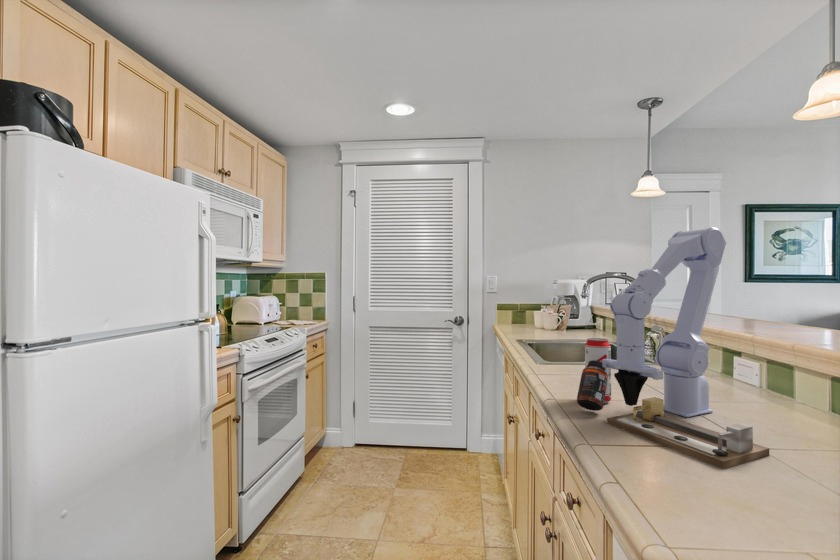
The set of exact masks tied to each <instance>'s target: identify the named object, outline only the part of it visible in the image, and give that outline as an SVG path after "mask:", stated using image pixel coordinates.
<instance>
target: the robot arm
mask: <svg viewBox="0 0 840 560" xmlns="http://www.w3.org/2000/svg"><path fill="white" fill-rule="evenodd" d="M667 244H668V245H667V248H666V249H665V250H664V251H663V253H662V254H661V256H660V257H659V258H658V260H657V261H656V262H655V264H653V266H652V268H650V269H649V268H647V269H644V270H640V271H638V273H637V275H638V276H636V278H635V279H634V280H633V281H632V282H631V284H630V285H628V286H627V287H626V289H625V290H624V292H619V293H617V294H616V295H615V296H614V297H613V299H612V300H611V303H610V304H609V308H610V312H611V313H612V315H613V317H614V319H613V320H614V322H615V324H616V327H615V328H616V359H612V358H611V359H602V367H604V368H611V370H612V369H613V370H617V372H614V375H613V376H614V378H615V380H616V382H617V383H618V385H619V387H620V390H621V392H622V396H623V399H624V403H625V405H626V406H630V407H632V406H633V407H634V406H638V402H639V401H638V400H639V397H640V394H641V392H642V390H643V387H644V385H645V383H646V382H647V380H648V378H651V379H652V380H656V381H658V380H659V381H660V380H663V400H664V412H668V413H670V414H674V415H675V414H676V415H678V416H681V417H685V418H690V417H696V416H700V415H705V414H709V413H713V412H714V410H713V409H711V408H710V396H709V395H710V390H709V389H710V388H709V387H710V386H709V385H710V384H709V382H708V380H707V378H706V377H705V376H704V375H703V374H705V372H706V371H707V369H708V367H709V350H710V347H709V345H708V344H707V343H706V342H705V341H704V340H703V339H702V338H701V336H702V332H703V327H704V325H705V321H706V317H707V314H708V312H709V311H708V310H709V307H710V303H711V299H712V297H713V292H714V288H715V285H716V282H717V279H718V275H719V269H720V265H721V262H722V260H723V255H724V251H725V249H726V245H727V242H726V239H725V237H724V235H723V233H722V231H721V230H720V229H719V228H718V227H715V226H714V227H713V226H712V227H708V228H701V229H700V228H699V229H693V230H687V231H686V230H685V231H683V230H682V231H681V230H680V231H679V230H678V231H676V232H675V233H674V234H673V235H672V237H670V238H669V239H668V241H667ZM681 263H682V264H683V266H684V267H686V268H688V269H689V271H690V274H689V278H688V280H687V285H686V289H685V292H684V295H683V299H682V302H681V306H680V309H679V313H678V316H677V320H676V323H675V327H674V330H673V331H671V332H669V333H668V334H666V335H665V336H663V338H662V342H661V343H660V345H659V346H658V347H657V349H656V351H655V361H656V364H657V365H658V366H659V367H660V368H656V367H653V366H650V365H647V364H646V355H645V354H646V352H645V351H646V350H645V349H646V347H645V346H646V345H645V344H646V343H645V341H646V340H645V336H646V335H645V318H646V317H647V316H648V315H650V313H651V311H652V304H653V303H654V300H655V298H657V296H658V294H659V293H661V291H662V290H663V289H664V288H665V287H666V284H667V282H666V281H667V280H666V278H667V276H669V274H670V273H672V271H674V270H675V269H676V268H677V267H678V266H679V265H680V264H681Z"/></svg>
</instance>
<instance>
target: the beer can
mask: <svg viewBox="0 0 840 560" xmlns="http://www.w3.org/2000/svg"><path fill="white" fill-rule="evenodd" d="M586 339H587V340H586V342H585V344H584V368H586V367H587V365H588V362H589V361H592V360H596V361H600V362H602V359H612V351H611V350H612V348H611V344H610V342H609V339H608V338H599V337H596V338H595V337H593V338H592V337H589V338H586ZM605 372H606V373H607V375H608V380H607V387H606V393H605V399H604V404H609V402H610V401H612V368H605Z"/></svg>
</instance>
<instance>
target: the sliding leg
mask: <svg viewBox="0 0 840 560" xmlns="http://www.w3.org/2000/svg"><path fill="white" fill-rule="evenodd" d="M641 400H642V401H641V403H642V404H641V405H635V406H633V409H632V413H633V420H636V412H637V411H639V410H641V411H642V413H643V419H646V420H649V421H654V415H657V416H660V417H663V415H665V414H664V413H665V410H664V398H659V397H655V396H654V397H649V398H644V399H641Z"/></svg>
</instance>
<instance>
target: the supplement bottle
mask: <svg viewBox="0 0 840 560" xmlns="http://www.w3.org/2000/svg"><path fill="white" fill-rule="evenodd" d="M580 376H581V377H580V381H579V385H578V392H577V395H576V396H577V397H576V403H577V404H578V406H580V407H581V408H582V409H586V410H587V411H593V412H594V411H595V412H596V411H601V410H602V409H603V408H604V405H605V403H604V399H605V393H606V387H607V380H608V375H607V373H606V372H605V368H604V367H602V362H600V361H596V360H592V361H589V362H588V365H587V367H586V368H585V367H584V368H583V369H582V371H581V375H580Z"/></svg>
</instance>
